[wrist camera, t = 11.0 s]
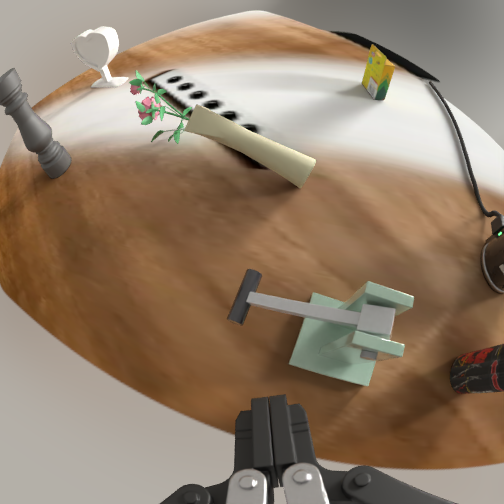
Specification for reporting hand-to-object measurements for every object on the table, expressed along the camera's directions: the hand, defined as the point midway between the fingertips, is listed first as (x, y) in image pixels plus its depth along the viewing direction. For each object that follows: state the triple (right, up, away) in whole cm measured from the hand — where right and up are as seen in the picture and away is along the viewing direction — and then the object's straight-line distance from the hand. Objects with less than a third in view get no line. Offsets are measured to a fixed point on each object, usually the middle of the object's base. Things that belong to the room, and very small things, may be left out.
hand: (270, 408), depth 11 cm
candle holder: (-40, +24, +35) cm, 59 cm away
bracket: (+10, -4, +21) cm, 23 cm away
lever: (+5, +1, +14) cm, 15 cm away
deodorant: (+29, -10, +17) cm, 36 cm away
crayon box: (+27, +44, +42) cm, 66 cm away
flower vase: (-8, +24, +34) cm, 42 cm away
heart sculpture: (-40, +53, +48) cm, 82 cm away
